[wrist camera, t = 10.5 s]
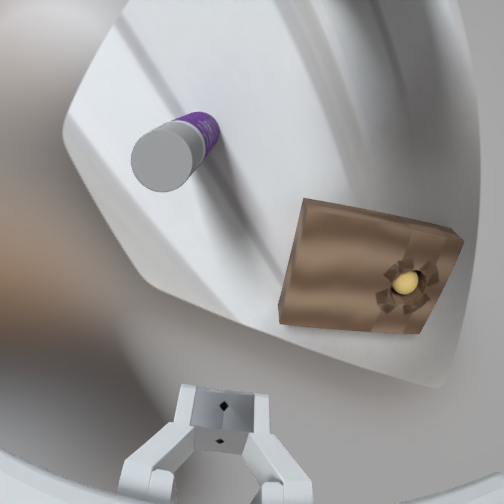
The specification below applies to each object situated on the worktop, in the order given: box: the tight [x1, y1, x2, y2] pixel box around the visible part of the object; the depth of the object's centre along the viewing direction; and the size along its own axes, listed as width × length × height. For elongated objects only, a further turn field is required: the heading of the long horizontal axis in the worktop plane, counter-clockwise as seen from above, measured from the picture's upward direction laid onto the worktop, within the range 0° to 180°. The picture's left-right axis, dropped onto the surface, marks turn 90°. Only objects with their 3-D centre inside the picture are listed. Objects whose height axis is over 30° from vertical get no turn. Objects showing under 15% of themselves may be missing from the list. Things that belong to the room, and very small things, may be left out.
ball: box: [392, 270, 418, 294], centre depth 40 cm, size 4×4×4 cm
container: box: [131, 112, 219, 192], centre depth 27 cm, size 5×5×15 cm
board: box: [278, 198, 464, 334], centre depth 40 cm, size 16×22×4 cm
